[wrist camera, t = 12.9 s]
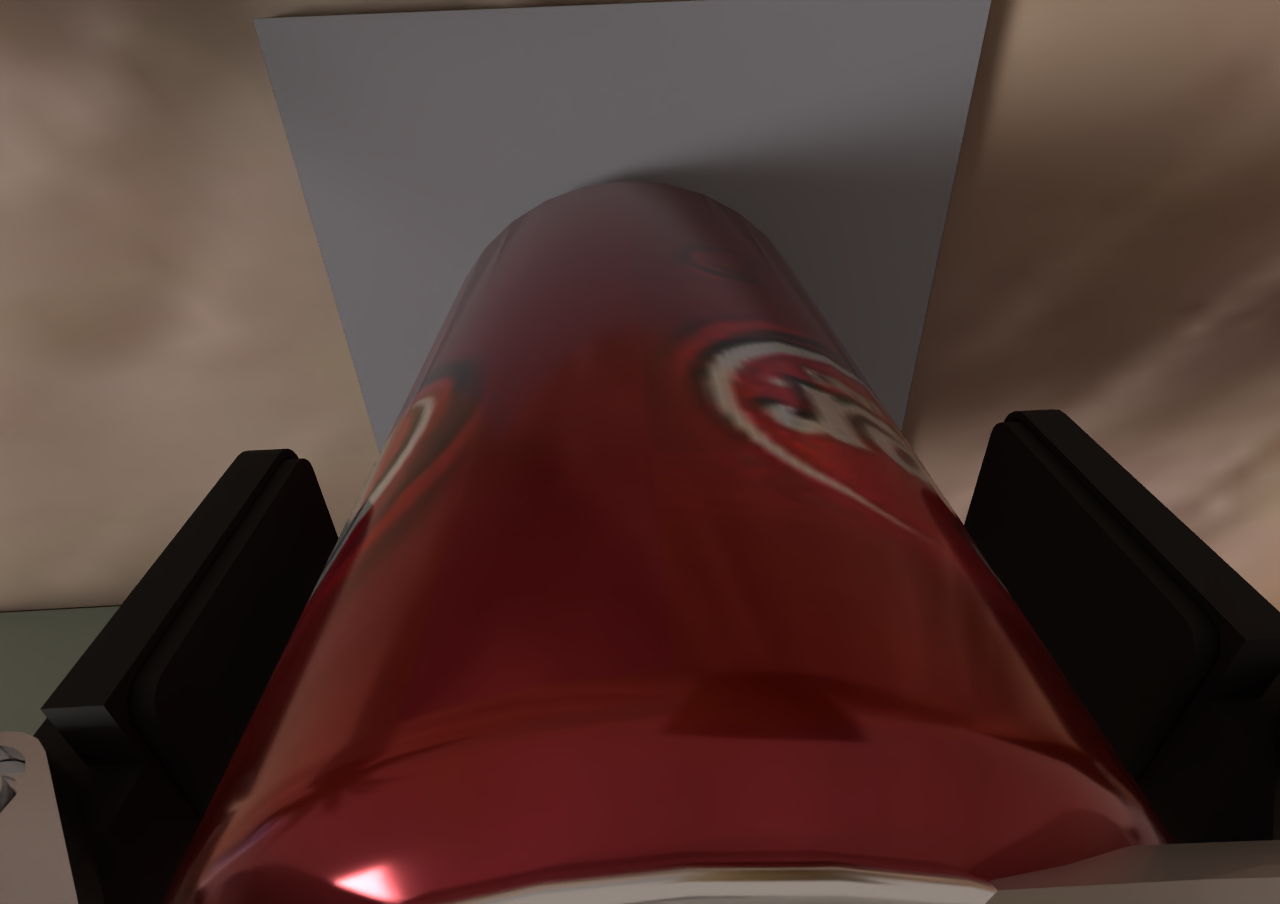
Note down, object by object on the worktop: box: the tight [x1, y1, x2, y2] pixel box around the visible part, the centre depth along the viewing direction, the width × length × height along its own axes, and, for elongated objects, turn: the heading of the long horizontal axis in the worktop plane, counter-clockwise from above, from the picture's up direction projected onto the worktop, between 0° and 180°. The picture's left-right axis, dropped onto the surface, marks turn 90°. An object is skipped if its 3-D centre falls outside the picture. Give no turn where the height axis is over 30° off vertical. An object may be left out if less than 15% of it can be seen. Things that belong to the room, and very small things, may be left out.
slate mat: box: [253, 0, 991, 453], centre depth 15 cm, size 12×12×1 cm
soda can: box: [161, 181, 1177, 904], centre depth 10 cm, size 7×7×12 cm
